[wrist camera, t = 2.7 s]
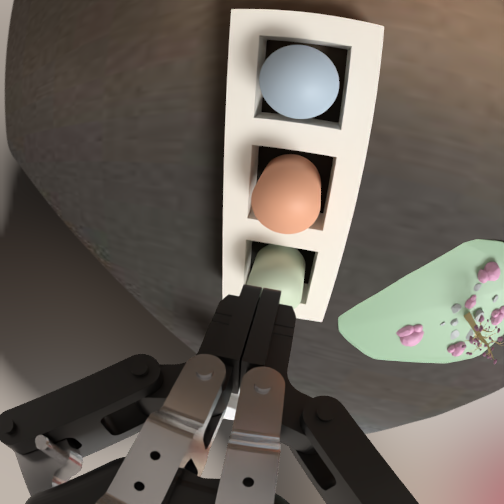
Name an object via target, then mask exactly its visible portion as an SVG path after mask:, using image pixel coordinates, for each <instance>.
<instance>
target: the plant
mask: <svg viewBox="0 0 504 504" xmlns="http://www.w3.org/2000/svg"><path fill="white" fill-rule="evenodd" d="M338 329H339V331H340V333H341V334H342V335H343V336H344V337H345V339H346V340H347V341H349V342H350V343H351V344H352V345H354V346H355V347H356V348H357V349H359V350H360V351H361V352H363V353H364V354H366V355H368V356H369V357H371V358H374V359H380V360H391V361H405V362H424V363H450V362H455V361H460V360H465V359H470V358H473V357H476V356H479V355H481V354H482V353H483V352H484V351H486V350H487V349H488V353H489V354H488V355H487V354H486V353H483V356H486V355H487V358H490V357H491V355H492V352H491V350H494V347H492V349H490V346H491V345H492V344H493V343H495V342H496V341H497V340H498V341H502V340H503V337H502V335H503V334H504V242H502V241H497V240H484V239H476V240H472V241H469V242H465V243H463V244H461V245H459V246H458V247H456V248H454V249H453V250H451V251H449V252H448V253H446V254H444V255H443V256H441V257H439V258H437V259H436V260H434V261H432V262H430V263H428V264H427V265H425V266H423V267H421V268H419V269H418V270H416V271H414V272H412V273H410V274H408V275H407V276H405V277H403V278H402V279H400V280H398V281H397V282H395V283H394V284H392V285H390V286H389V287H387V288H385V289H384V290H382V291H380V292H379V293H377V294H375V295H374V296H372V297H370V298H368V299H367V300H365V301H363V302H362V303H360V304H358V305H357V306H355V307H353V308H352V309H350V310H349V311H347V312H346V313H344V314H343V315H341V316H339V318H338ZM496 343H497V342H496ZM503 343H504V342H503ZM497 344H501V342H500V343H497ZM503 346H504V345H503ZM489 351H490V352H489ZM492 357H493V355H492ZM492 357H491V360H492ZM493 359H494V358H493ZM496 362H497V360H496V359H495V360H494V364H495V363H496Z"/></svg>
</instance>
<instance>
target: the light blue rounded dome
mask: <svg viewBox="0 0 504 504" xmlns="http://www.w3.org/2000/svg"><path fill="white" fill-rule="evenodd" d="M259 84H260V89H261V92H262V95H263V97H264V99H265V100H266V102H267V103H268V104H269V105H270V106H271V107H272V108H273V109H274V110H275V111H277V112H278V113H280V114H282V115H284V116H287V117H290V118H294V119H308V118H312V117H316V116H318V115H320V114H322V113H323V112H325V111H326V110H327V109H329V107H330V106H331V105H332V104H333V103H334V101H335V99H336V97H337V94H338V91H339V77H338V73H337V70H336V68H335V66H334V64H333V63H332V61H331V60H330V59H329V58H328V57H327V56H326V55H325V54H324V53H322V52H321V51H319V50H317V49H315V48H313V47H309V46H305V45H290V46H286V47H283V48H280V49H278V50H276V51H275V52H273V53H272V54H271V55H270V56H269V57H268V58H267V59H266V61H265V62H264V64H263V66H262V68H261V71H260V77H259Z"/></svg>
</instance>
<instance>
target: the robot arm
mask: <svg viewBox="0 0 504 504" xmlns="http://www.w3.org/2000/svg"><path fill="white" fill-rule="evenodd" d="M280 298H281V291H280V290H275V289H269V288H263V290H262V287H258V286H252V285H247V284H244V285H243V287H242V290H241V293H240V295H239V296H235V295H230V294H228V295H227V296H226V297H225V298H224V299H223V300H221V301H220V303H219V305H218V307H217V309H216V312H215V314H214V316H213V319H212V322H211V323H210V326H209V328H208V330H207V333H206V335H205V337H204V340H203V342H202V344H201V347H200V349H199V351H198V353H197V354H196V356H194V357H192V358H191V359H189V360H188V361H187V362H185V363H182V364H177V365H176V364H175V365H159V363H158V362H157V360H156V359H154V358H153V357H151V356H149V355H146V354H138V355H134V356H131V357H129V358H127V359H125V360H123V361H120V362H118V363H116V364H114V365H112V366H110V367H107V368H105V369H103V370H101V371H99V372H97V373H95V374H92V375H90V376H87V377H85V378H83V379H81V380H79V381H76V382H74V383H72V384H69V385H67V386H65V387H62V388H60V389H58V390H56V391H53V392H51V393H49V394H46V395H44V396H41V397H39V398H36V399H34V400H32V401H29V402H27V403H24V404H22V405H20V406H17V407H15V408H12V409H9V410H7V411H5V412H3V413H2V414H1V415H0V440H1V442H3V443H4V444H6V445H7V446H8V447H10V448H11V449H12V450H13V451H14V452H15V454H16V457H17V460H18V463H19V466H20V469H21V472H22V474H23V477H24V480H25V483H26V485H27V488H28V490H29V493H30V495H31V497H30V498H29V499H28V500H27V501H26V503H25V504H289V503H288V502H287V501H286V500H285V499H283V498H282V497H281V496H279V495H277V494H276V493H275V491H276V483H277V475H278V467H279V459H280V450H281V445H280V444H281V443H283V444H285V445H287V446H289V447H290V450H291V451H292V453H293V454H294V456H295V458H296V459H297V461H298V462H299V464H300V465H301V467H302V468H303V470H304V471H305V473H306V474H307V476H308V477H309V479H310V480H311V482H312V483H313V485H314V486H315V488H316V489H317V491H318V492H319V494H320V495H321V496H322V498H323V500H324V501H325V502H326V504H419V503H418V502H417V501H416V499H415V498H414V497H413V496H412V494H411V493H410V492H409V491H408V489H407V488H406V487H405V485H404V484H403V483H402V482H401V480H400V479H399V478H398V477H397V475H396V474H395V473H394V471H393V470H392V469H391V468H390V466H389V465H388V464H387V462H386V461H385V460H384V459H383V457H382V456H381V455H380V453H379V452H378V451H377V450H376V448H375V447H374V446H373V444H372V443H371V442H370V440H369V439H368V438H367V436H366V435H365V434H364V432H363V431H362V430H361V429H360V427H359V426H358V425H357V423H356V422H355V421H354V419H353V418H352V417H351V415H350V414H349V413H348V411H347V410H346V409H345V407H344V406H343V405H342V404H341V403H340V402H339V401H338V400H337V399H335V398H333V397H329V396H318V397H315V398H312V397H309V396H307V395H305V394H303V393H301V392H299V391H298V390H296V389H295V388H294V387H293V386H292V385H291V383H290V382H289V380H288V376H287V368H288V363H289V357H290V351H291V345H292V339H293V333H294V327H295V320H296V315H295V312H294V310H293V307H292V306H289V305H283V304H280ZM239 389H240V393H239V398H238V403H237V408H236V413H235V418H234V423H233V427H232V432H231V435H230V438H229V441H228V445H227V450H226V455H225V459H224V464H223V469H222V474H221V478H220V479H207V478H206V479H205V478H201V475H202V472H203V470H204V468H205V465H206V462H207V458H208V453H209V450H210V448H211V445H212V443H213V440H214V438H215V436H216V434H217V431H218V429H219V426H220V424H221V421H222V419H223V417H224V414H225V412H226V409H227V405H228V402H229V399H230V396H231V393H234V394H238V392H239ZM138 432H139V434H138V436H137V438H136V440H135V441H134V443H133V445H132V447H131V448H130V450H129V452H128V454H127V456H126V457H122V458H119V459H116V460H113V461H111V462H109V463H107V464H105V465H103V466H101V467H98V468H96V469H94V470H92V471H90V472H88V473H86V474H83V475H81V476H79V477H77V478H74V479H72V480H69V479H70V478H71V477H72V476H74V475H75V474H77V473H78V472H79V471H80V470H81V468H82V463H83V459H82V458H83V457H85V456H87V455H90V454H92V453H94V452H97V451H99V450H101V449H104V448H106V447H108V446H110V445H113V444H114V443H117V442H119V441H121V440H123V439H125V438H128V437H129V436H132V435H134V434H136V433H138ZM280 442H281V443H280ZM68 480H69V481H68Z"/></svg>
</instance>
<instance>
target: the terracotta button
mask: <svg viewBox="0 0 504 504" xmlns="http://www.w3.org/2000/svg"><path fill="white" fill-rule="evenodd" d="M251 205H252V209H253V212H254V214H255V216H256V218H257V219H258V220H259V222H260V223H261V224H262V225H264V226H265V227H266V228H268V229H270V230H272V231H274V232H277V233H281V234H295V233H299V232H302V231H304V230H306V229H307V228H309V227H310V226H311V225H312V224H313V223H314V222H315V221H316V219H317V217H318V215H319V212H320V206H321V178H320V174H319V172H318V170H317V168H316V167H315V165H314V164H313V163H312V162H311V161H309V160H308V159H306V158H304V157H302V156H300V155H295V154H285V155H281V156H278V157H276V158H274V159H273V160H271V161H270V162H269V163H268V164H267V166H266V167H265V169H264V171H263V173H262V174H261V176H260V178H259V180H258V182H257V184H256V185H255V187H254V189H253V192H252V196H251Z"/></svg>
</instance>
